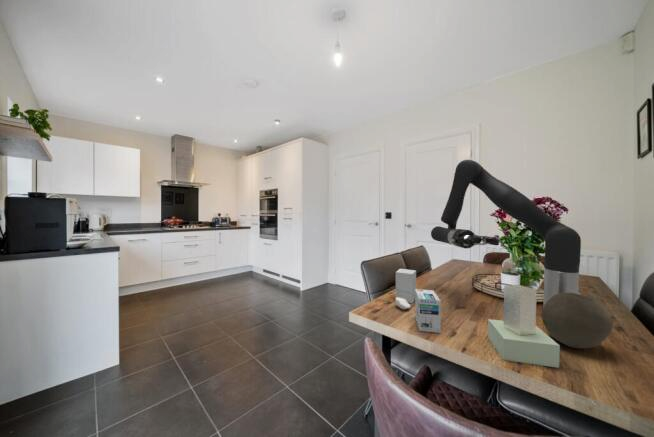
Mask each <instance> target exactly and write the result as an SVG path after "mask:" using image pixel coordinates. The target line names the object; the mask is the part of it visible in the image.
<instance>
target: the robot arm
mask: <svg viewBox="0 0 654 437" xmlns="http://www.w3.org/2000/svg"><path fill="white" fill-rule="evenodd" d="M470 184H471V185H473V186H474V187H475V188H477V189H479V190H480V191H481V192H483V194H484V195H485V196H486V197H487V198H488V199H489V200H490V201H491V202H492V203H493V205H495V206H496V207H497V208H499V209H500V210H501V211H502V212H504V213H505V214H506V215H509V216H510V218H513V219H515V220H516V221H518V222H520V223H522V224H524V225H526V226H527V227H529V228H530V229H531V230H533V231H534V232H535V233H537V235H539V236H540V237H541V238H542V239H543V240H544V241H545V242H544V270H543V272H544V275H543V276H544V278H543V301H542V302H543V307H544V305H545V304H546V302H547V301H548V300H549V299H550V298H551V297H552V296H554V295H556V294H559V293H575V294H579V295H582V294H581V292H579V284H580V283H579V281H580V278H579V276H580V266H581V252H582V251H581V248H582V238H581V236H580V234H579V233H578V232H577V231H576V230H575V229H574V228H572V227H569V226H568V225H565V224H564V223H562V222H560V221H558V220H557V219H555V218H553V217H551V216H550V215H549V214H548V213H546V212H544V210H543V209H542V208H540V207H539V206H538V205H537V204H536V203H534V201H532V200H531V199H530V198H528V197H527V196H526V195H525V194H523V193H522V192H520V191H518V190H517V189H516V188H514V187H512V186H511V185H510V184H508V183H506V182H504V181H502V180H500V179H498V178H496V177H495V176H493V175H492V174H490V172H489V171H487V170H486V169H485V168H484V167H483V166H482V165H481V164H480V163H479V162H477V161H475V160H473V159H464V160H461V161H459V163H458V164H457V166H456V168H455V172H454V175H453V182H452V185H451V190H450V192H449V195H448V198H447V201H446V204H445V207H444V209H443V212H442V215H441V217H440V221H441V223H444V224H446V225H447V227H444V226H440V225H439V226H434V227H433V228H432V229H431V230H430V236H431V238H432V239H433V240H434V241H437V242H440V243H444V244H449V245H452V246H455V247H457V248H462V249H471V248H473V247H474V246H485V245H489V246H500V241H499V240H500V239H498V238H497V237H496V236H488V235H478V234H475V233H474V232H473V231H472V230H470V229H461V228H457V223H458V220H459V218H460V215H461V213H462V210H463V207H464V206H463V205H464V202H465V197H466V193H467V190H468V187H469V186H470ZM543 307H542V308H543Z"/></svg>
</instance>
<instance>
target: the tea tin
mask: <svg viewBox="0 0 654 437" xmlns="http://www.w3.org/2000/svg"><path fill="white" fill-rule="evenodd" d="M503 292H504V293H503V296H504V297H503V321H504V327H505V328H507V329H509V330H510V331H512V332H514V333H516V334H518V335H529V334H535V331H536V326H537V321H536V320H537V289H535V288H531V287H527V286H524V285H522V284H521V285H520V284H512V285H508V284H507V285H504V291H503Z"/></svg>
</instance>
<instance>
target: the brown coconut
mask: <svg viewBox="0 0 654 437" xmlns="http://www.w3.org/2000/svg"><path fill="white" fill-rule="evenodd" d="M541 317H542V323H543V325H544V327H545V329H546V331H547V332H548V334H549V335H550V336H551V337H552V338H554V339H555V340H556V341H558V342H560V343H562V344H563V345H565V346H566V347H569V348H572V349H581V350H582V349H590V348H594V347H597V346H598V345H599V344H601V343H603V342H604V341H605V340H606V339H607V338H608V337H609V335H610V334H611V333H612V330H613V326H614V323H613V317H612V316H611V314H610V312H609V311H608V310H607V308H606V307H605V306H604V305H603V304H601V303H600V302H599V301H598V300H596V299H594V298H592V297H590V296H588V295H584V294H583V295H582V294H581V295H579V294H575V293H559V294H556V295H554V296H552V297H551V298H550V299H549V300H548V301H547V302H546V304H545V305H544V307H542V312H541Z"/></svg>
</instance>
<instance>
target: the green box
mask: <svg viewBox="0 0 654 437" xmlns="http://www.w3.org/2000/svg"><path fill="white" fill-rule="evenodd" d="M487 338H488V339H489V341H490V343H491V344H492V345H493V347H494V348H495V350H496V351H497V353H498V354H499V356H500V357H501V358H502V359H503V361H508V362H509V361H510V362H515V363H516V362H517V363H523V364H530V365H536V366H544V367H550V368H556V369H557V368H558V369H559V368H560V349H561V346H560V344H559V343H557V342H556V341H555V340H554V339H553V338H551V337H550V336H549V335H548V334H547V333H545V332H544V331H543V330H542V329H541V328H540V327H539V326H537V325H536V331H535V334H529V335H518V334H516V333H514V332H512V331H510V330H509V329H507V328H505V327H504V320H501V319H499V320H498V319H489V318H488V319H487Z"/></svg>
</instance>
